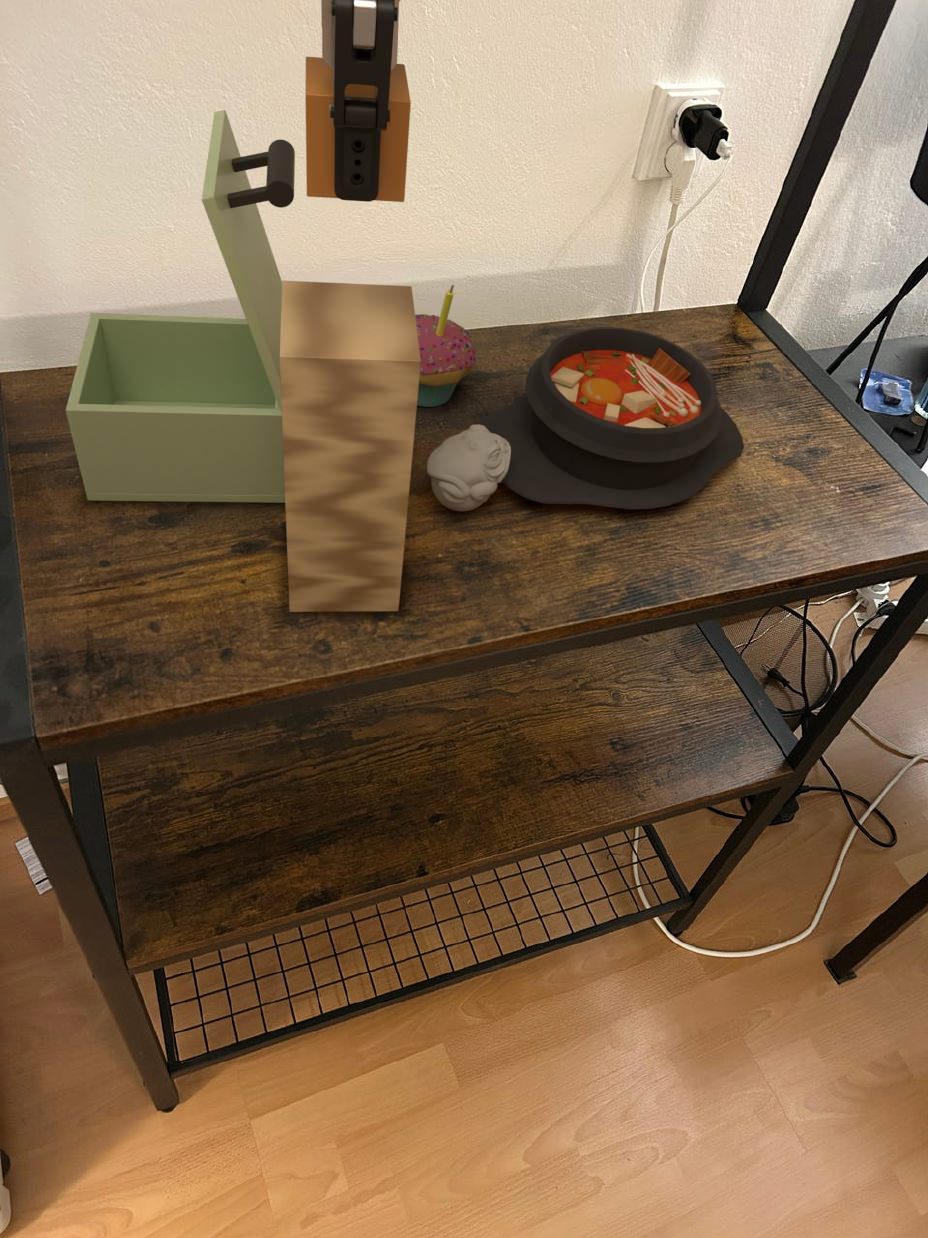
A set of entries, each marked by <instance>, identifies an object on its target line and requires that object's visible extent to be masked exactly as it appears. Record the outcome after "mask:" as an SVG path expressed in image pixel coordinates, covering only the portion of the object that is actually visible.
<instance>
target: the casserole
mask: <svg viewBox="0 0 928 1238" xmlns="http://www.w3.org/2000/svg"><path fill="white" fill-rule="evenodd" d="M716 384H717V383H716V381H715V380H714V377H713V376H712V374H711V372H710V371H709V369H707V368H706V366H705V365H704V364H703V362H701V361H700V360H699V359H698V358H697V357H696V356H694V355H693V354H692V353H691V352H690V351H688V350H686V349H684V348H683V347H681V346H680V345H678V344H676V343H674V342H672V341H670V340H668V339H666V338H663V337H661V336H658V335H655V334H652V333H649V332H645V331H641V330H637V329H632V328H626V327H625V328H624V327H616V326H599V327H597V326H596V327H587V328H582V329H579V330H574V331H571V332H569V333H567V334H564V335H562V336H560V337H559V338H557V339H556V340H554V341H553V342H552V343H551V344H550V345H549V346H548V348H547V349H545V351H544V353H543V354H542V355H540V356H539V357H537V358H536V359H535V361H534V362H533V363H532V364H531V365H530V367H529V368H528V372H527V375H526V377H525V388H524V389H525V393H524V394H522V395H521V396H519V397H518V398H517V399H516V400H515V401H513V402H512V403H511V404H509V405H506V406H505V407H503V408H500V409H498V410H495V411H493V412H492V413H489V414H488V415H486V416H484V417H483V418H481V421H480V422H479V424H480V425H483V426H485V427H486V428H487V429H488V430H489V432H490V433H492V434H493V433H494V434H497V435H499V436H501V437H502V438H504V439H505V440H506V441H508V443H509V444H510V447H511V457H510V463H509V468H508V471H507V473H506V475H505V478H503V479H502V481H501V482H500V483H502V484H504V485H505V486H506V487H507V488H508V489H510V490H511V491H513V492H515V494H517V495H519V496H522V497H523V498H525V499H527V500H531V501H533V502H537V503H541V504H548V505H550V504H551V505H593V506H599V507H606V508H607V507H608V508H613V509H614V508H615V509H623V510H651V509H657V508H664V507H669V506H671V505H672V506H673V505H675V504H677V503H680V502H684V501H686V500H688V499H689V498H691V497H693V496H694V495H695V494H697V493H699V492H700V491H701V490H702V489H703V488H704V487H705V486H706V485H707V483H708V482H709V481H710V480H712V478H713V477H714V476H715V475H716V473H718V471H720V470H722V469H724V468H725V467H727V466H728V465H729V464H731V463H733V462H734V461H735V460H738V458H740V457H742V454H743V452H744V448H745V444H744V439H743V435H742V433H741V431H740V430H739V428H738V425H737V424H736V422H735V421H734V420H733V418H732V417H731V416H730V415H729V413H727V411H726V410H724V408H723V407H721V403H720V400H719V399H718V390H717V385H716Z"/></svg>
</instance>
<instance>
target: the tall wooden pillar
mask: <svg viewBox="0 0 928 1238" xmlns="http://www.w3.org/2000/svg"><path fill="white" fill-rule="evenodd" d="M414 302H415V301H414V295H413V288H412V286H411V285H391V284H371V283H370V284H369V283H348V282H347V283H346V282H326V281H325V282H324V281H304V280H303V281H302V280H282V302H281V332H280V377H281V403H282V428H283V454H284V480H285V503H284V504H285V527H286V550H287V551H286V552H287V553H286V555H287V579H288V581H287V582H288V602H289V603H288V606H289V607H288V608H289V612H290V613H308V612H309V613H324V612H325V613H326V612H327V613H328V612H329V613H334V612H335V613H336V612H337V613H338V612H339V613H340V612H341V613H342V612H345V613H346V612H347V613H350V612H354V613H355V612H399V608H400V599H401V598H400V597H401V589H402V588H401V587H402V576H403V566H404V555H405V543H406V532H407V523H408V512H409V511H408V508H409V500H410V499H409V497H410V487H411V478H412V477H411V475H412V466H413V453H414V443H415V432H416V422H417V421H416V419H417V411H418V410H417V409H418V405H417V400H418V389H419V377H420V366H421V358H420V350H419V342H418V334H417V326H416V318H415V315H416V311H415V303H414Z"/></svg>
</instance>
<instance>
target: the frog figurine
mask: <svg viewBox="0 0 928 1238" xmlns="http://www.w3.org/2000/svg"><path fill="white" fill-rule="evenodd" d="M510 457H511V447H510V444H509V443H508V441H506V440H505V439H504V438H502V437H501V436H499V435H497V434H494V433H493V434H492V433H490V432H489V430H488V429H487V428H486V427H485V426H483V425H480V423H479V424H472V425H470V426H469V427H468V429H464V430H463V431H461V432H460V433H458V434H454V435H452V436H450V437H448V438H446V439H445V440H444V441H443V442H442V443H441V444H440V445H439V446H438V447H436V448H435V449H434V450H433V451H432V452H431V454H429V457H428V459H427V461H426V472H427V475H428V476H430V477H431V479H430V481H431V482H430V483H431V489H432V491H433V494H434V496H435V498H436V500H438V502H439V503H440V504H441V505H442V506H444V507H446V508H447V509H449V510H452V511H455V512H468V511H469V512H470V511H472V510H475V509H478V507H480V506H482V504H484V503H486V502H488V499H490V497H491V495H492V494H493V493H495V492H496V490H497V489H498V484H499V483H502V482H501V481H502V479H503V478H505V475H506V473H507V471H508V468H509V463H510Z"/></svg>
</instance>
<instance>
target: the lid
mask: <svg viewBox="0 0 928 1238" xmlns="http://www.w3.org/2000/svg"><path fill="white" fill-rule="evenodd" d="M227 113H228V112H227V111H226V109H222V110H217V111H214V113H213V120H212V127H211V133H210V140H209V145H208V146H209V147H208V153H207V160H206V167H205V173H204V181H203V188H202V194H201V202H202V205H203V208H204V210H205V213H206V215H207V218H208V221H209V223H210V226H211V229H212V232H213V234H214V237H215V240H216V242H217V245H218V248H219V250H220V253H221V255H222V258H223V262H224V264H225V266H226V269H227V271H228V272H227V273H228V274H229V277H230V280H231V282H232V285H233V288H234V290H235V293H236V295H237V298H238V301H239V303H240V306H241V309H242V313H243V314H244V317H245V319H246V320H247V323H248V325H249V328H250V331H251V333H252V336H253V339H254V341H255V344H256V347H257V349H258V352H259V355H260V357H261V360H262V363H263V366H264V368H265V371H266V374H267V376H268V379H269V382H270V384H271V387H272V390H273V392H274V395H275V398H276V400H277V403H278V406H279V408H280V411H282V403H281V377H280V332H281V302H282V281H283V279H282V277H281V275H280V271H279V269H278V265H277V262H276V259H275V256H274V254H273V250H272V247H271V245H270V241H269V238H268V235H267V232H266V228H265V226H264V223H263V220H262V216H261V214H260V211H259V207H258V205H257V204H260V203H264V202H268V203H270V204H271V205H272V206H274V207H275V208H280V209H281V208H282V209H283V208H286V207H288V206H290V205H291V204H292V203H293V201H294V199H295V173H296V172H295V171H296V169H295V167H296V152H295V148H294V146H293V145H292V144H291V143H290V142H289V141H287V140H285V139H275V140H274V141H272V142H271V143H269V146H268V150H267V151H263V152H258V153H254V154H249V155H244V156H242V155H241V153H240V150H239V146H238V143H237V141H236V138H235V135H234V132H233V129H232V126H231V123H230V120H229V116H228V114H227ZM263 167H266V183H265V184H266V185H263V186H259V187H254V188H252V186H251V184H250V180H249V177H248V175H247V171H249V170H254V169H258V168H263Z"/></svg>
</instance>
